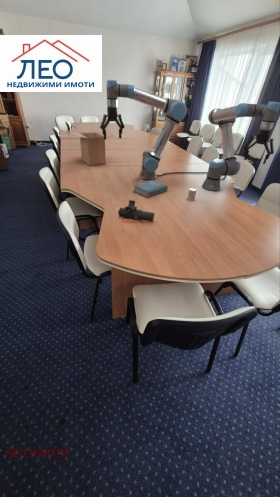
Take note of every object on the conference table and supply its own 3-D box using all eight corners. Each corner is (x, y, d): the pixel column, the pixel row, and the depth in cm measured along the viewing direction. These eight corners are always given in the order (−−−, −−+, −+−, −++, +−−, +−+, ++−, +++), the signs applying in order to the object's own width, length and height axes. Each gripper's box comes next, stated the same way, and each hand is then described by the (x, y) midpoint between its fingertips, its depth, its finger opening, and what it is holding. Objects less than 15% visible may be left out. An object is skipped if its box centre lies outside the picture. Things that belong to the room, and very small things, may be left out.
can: (189, 197, 174) (192, 187, 169) (195, 199, 171) (198, 189, 166) (185, 199, 171) (187, 189, 166) (191, 201, 167) (193, 191, 163)
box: (116, 165, 229) (116, 136, 213) (83, 168, 214) (80, 137, 198) (102, 154, 259) (101, 128, 243) (71, 156, 244) (68, 129, 228)
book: (152, 185, 190) (153, 179, 187) (167, 191, 181) (167, 185, 178) (133, 191, 176) (133, 185, 173) (147, 198, 167) (148, 191, 164)
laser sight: (151, 225, 135) (153, 210, 129) (116, 219, 138) (116, 205, 132) (154, 218, 142) (155, 203, 137) (120, 212, 145) (120, 198, 139)
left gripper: (99, 106, 151) (100, 140, 164) (129, 107, 164) (128, 138, 176) (94, 105, 156) (96, 138, 169) (124, 106, 168) (123, 136, 181)
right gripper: (245, 126, 153) (235, 158, 166) (283, 132, 140) (270, 166, 153) (249, 126, 158) (239, 157, 170) (287, 131, 145) (273, 164, 157)
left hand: (112, 138), depth 173 cm, fingers open, 13 cm apart
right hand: (254, 161), depth 162 cm, fingers open, 13 cm apart
